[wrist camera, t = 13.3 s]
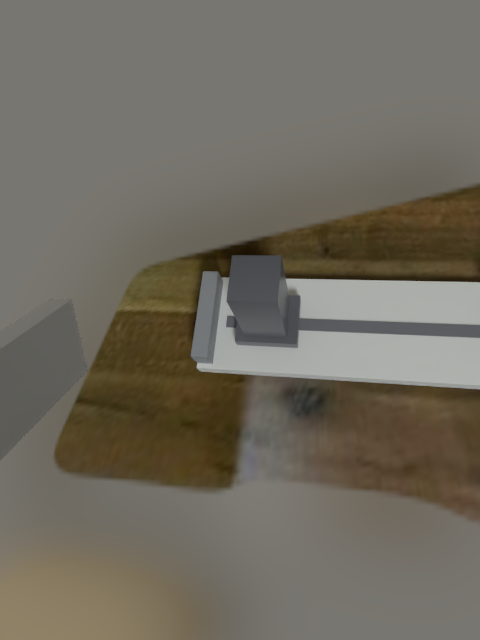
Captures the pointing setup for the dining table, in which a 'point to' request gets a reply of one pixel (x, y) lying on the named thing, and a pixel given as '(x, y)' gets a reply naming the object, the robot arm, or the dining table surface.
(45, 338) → the robot arm
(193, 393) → the dining table surface
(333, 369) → the fader base
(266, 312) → the fader knob
